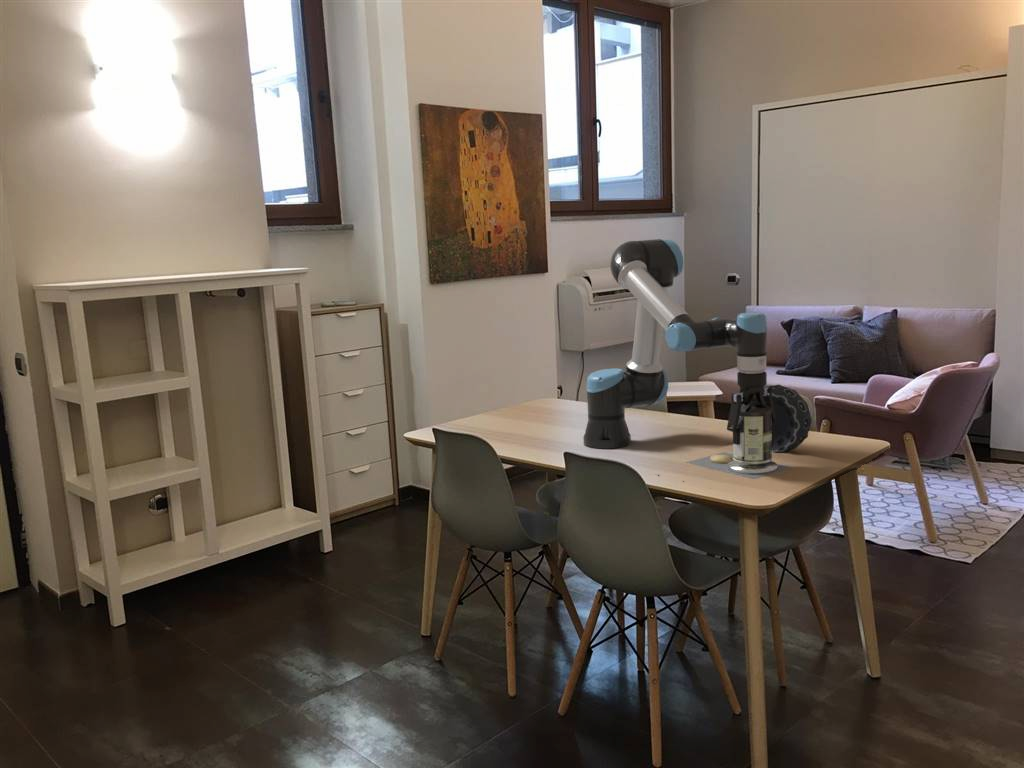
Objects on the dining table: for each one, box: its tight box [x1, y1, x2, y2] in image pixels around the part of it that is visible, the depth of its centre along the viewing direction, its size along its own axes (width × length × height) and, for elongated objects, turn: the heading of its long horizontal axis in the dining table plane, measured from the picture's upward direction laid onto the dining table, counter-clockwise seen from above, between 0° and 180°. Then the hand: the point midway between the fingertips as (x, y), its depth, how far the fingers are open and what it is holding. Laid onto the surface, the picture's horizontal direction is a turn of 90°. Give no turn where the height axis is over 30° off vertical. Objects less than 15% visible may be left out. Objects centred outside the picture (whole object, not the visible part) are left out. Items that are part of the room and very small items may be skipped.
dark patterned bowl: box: [743, 384, 813, 453], centre depth 257 cm, size 11×20×20 cm, turn 51°
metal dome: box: [728, 460, 778, 475], centre depth 238 cm, size 13×13×1 cm
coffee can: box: [732, 406, 773, 464], centre depth 236 cm, size 10×10×14 cm
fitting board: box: [685, 451, 793, 480], centre depth 242 cm, size 24×16×2 cm, turn 35°
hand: (752, 452), depth 237 cm, fingers closed on coffee can, 10 cm apart
